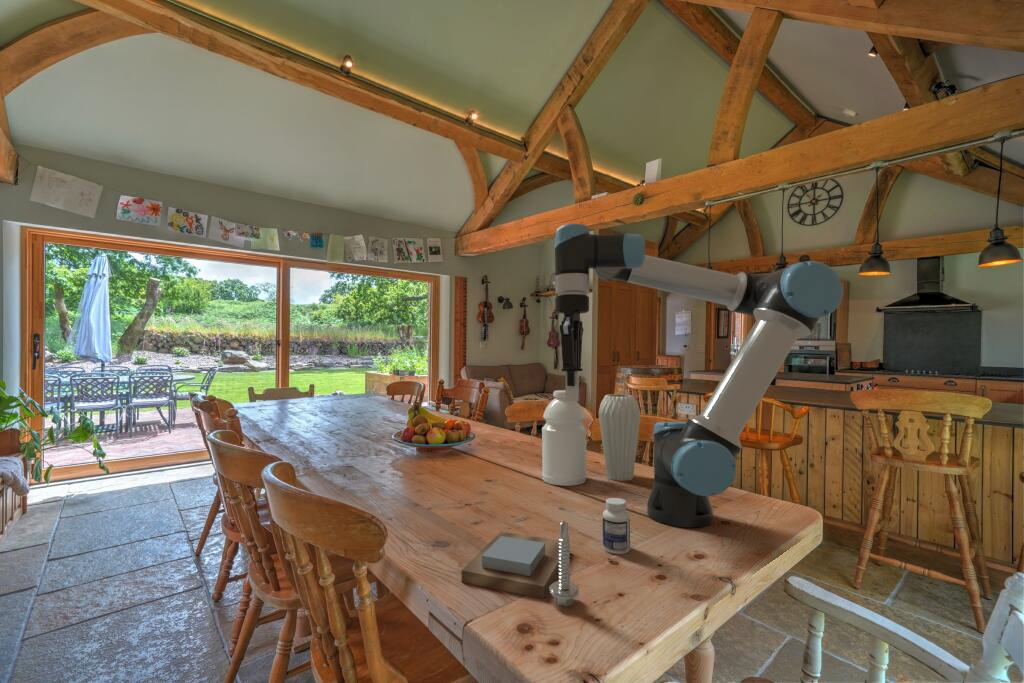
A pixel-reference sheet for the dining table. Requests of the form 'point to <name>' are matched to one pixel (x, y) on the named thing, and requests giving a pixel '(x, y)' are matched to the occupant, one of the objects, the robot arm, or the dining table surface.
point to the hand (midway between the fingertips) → (572, 400)
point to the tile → (514, 555)
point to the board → (515, 582)
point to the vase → (619, 434)
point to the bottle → (563, 442)
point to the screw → (564, 572)
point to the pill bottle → (616, 527)
